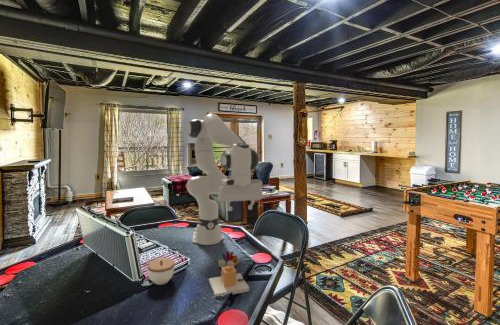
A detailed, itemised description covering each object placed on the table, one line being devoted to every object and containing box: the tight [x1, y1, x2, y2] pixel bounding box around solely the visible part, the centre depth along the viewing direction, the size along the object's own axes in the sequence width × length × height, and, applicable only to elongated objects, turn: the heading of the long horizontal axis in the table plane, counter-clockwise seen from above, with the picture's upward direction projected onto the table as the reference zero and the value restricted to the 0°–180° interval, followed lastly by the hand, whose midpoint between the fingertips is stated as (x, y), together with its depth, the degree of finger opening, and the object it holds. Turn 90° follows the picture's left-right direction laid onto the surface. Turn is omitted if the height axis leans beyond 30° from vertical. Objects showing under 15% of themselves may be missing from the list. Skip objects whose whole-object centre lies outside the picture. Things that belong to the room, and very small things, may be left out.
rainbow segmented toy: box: [217, 250, 239, 268], centre depth 128 cm, size 8×10×7 cm
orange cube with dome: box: [220, 266, 237, 287], centre depth 110 cm, size 5×5×7 cm
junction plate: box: [208, 272, 250, 298], centre depth 111 cm, size 12×14×6 cm
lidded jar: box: [147, 257, 175, 286], centre depth 113 cm, size 11×11×9 cm
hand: (240, 210), depth 120 cm, fingers open, 8 cm apart
